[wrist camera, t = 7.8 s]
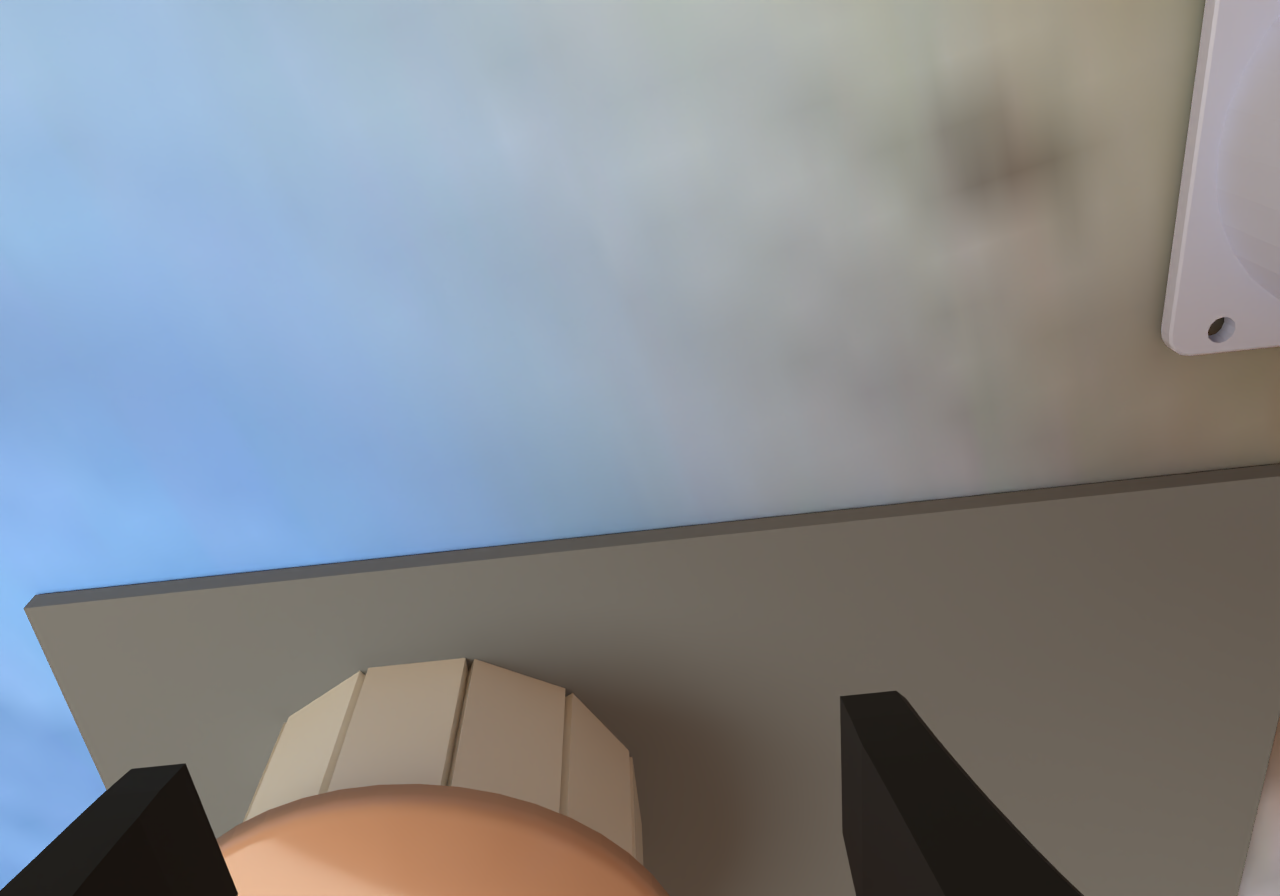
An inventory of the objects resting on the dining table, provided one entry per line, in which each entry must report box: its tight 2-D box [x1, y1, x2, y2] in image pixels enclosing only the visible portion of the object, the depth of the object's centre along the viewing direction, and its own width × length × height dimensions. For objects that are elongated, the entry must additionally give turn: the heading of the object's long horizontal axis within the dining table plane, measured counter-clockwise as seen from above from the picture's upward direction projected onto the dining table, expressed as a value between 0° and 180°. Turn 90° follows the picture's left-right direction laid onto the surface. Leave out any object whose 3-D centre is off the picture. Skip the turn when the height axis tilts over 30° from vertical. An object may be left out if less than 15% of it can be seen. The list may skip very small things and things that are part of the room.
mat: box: [24, 464, 1280, 896], centre depth 25 cm, size 28×17×1 cm, turn 96°
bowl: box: [243, 658, 644, 866], centre depth 22 cm, size 9×9×4 cm
